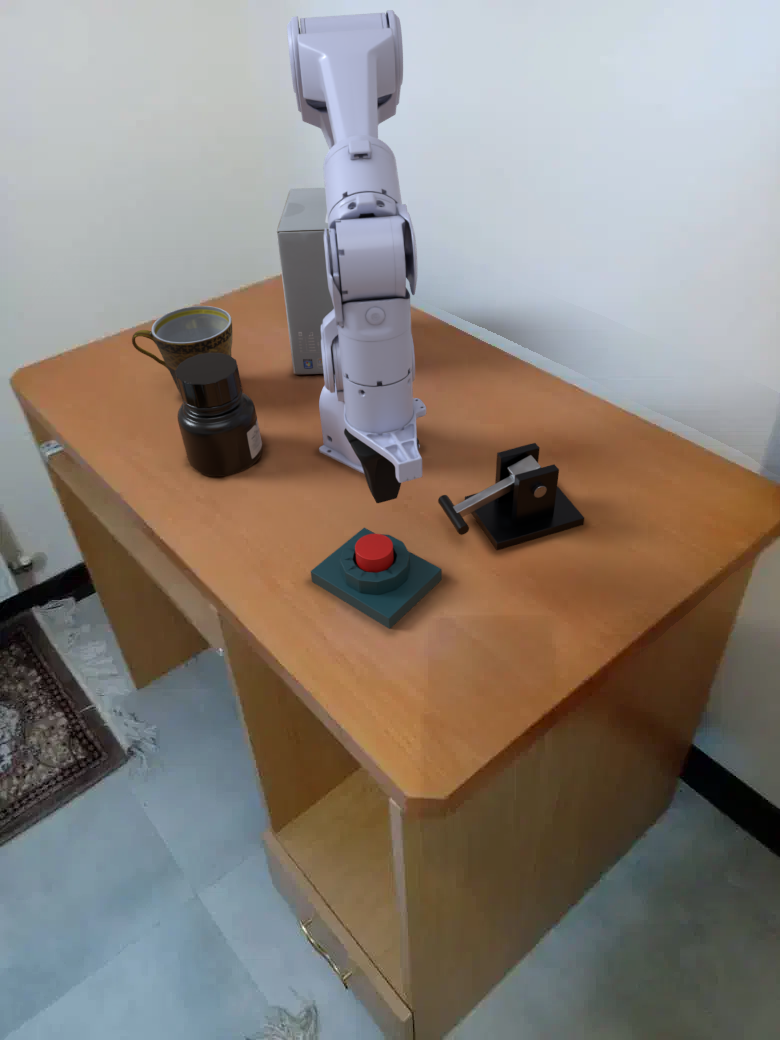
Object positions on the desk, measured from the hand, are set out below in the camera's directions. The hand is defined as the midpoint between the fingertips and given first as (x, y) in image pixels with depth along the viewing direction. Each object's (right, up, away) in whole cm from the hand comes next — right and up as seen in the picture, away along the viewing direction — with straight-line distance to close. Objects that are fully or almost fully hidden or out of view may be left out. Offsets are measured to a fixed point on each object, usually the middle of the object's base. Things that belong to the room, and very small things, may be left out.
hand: (384, 496), depth 73 cm
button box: (-1, -8, +5) cm, 10 cm away
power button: (-1, -6, +3) cm, 7 cm away
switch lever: (+11, 0, +9) cm, 14 cm away
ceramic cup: (-25, +15, +33) cm, 44 cm away
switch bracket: (+15, -2, +11) cm, 19 cm away
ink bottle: (-19, +5, +22) cm, 30 cm away
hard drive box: (-9, +22, +40) cm, 47 cm away
